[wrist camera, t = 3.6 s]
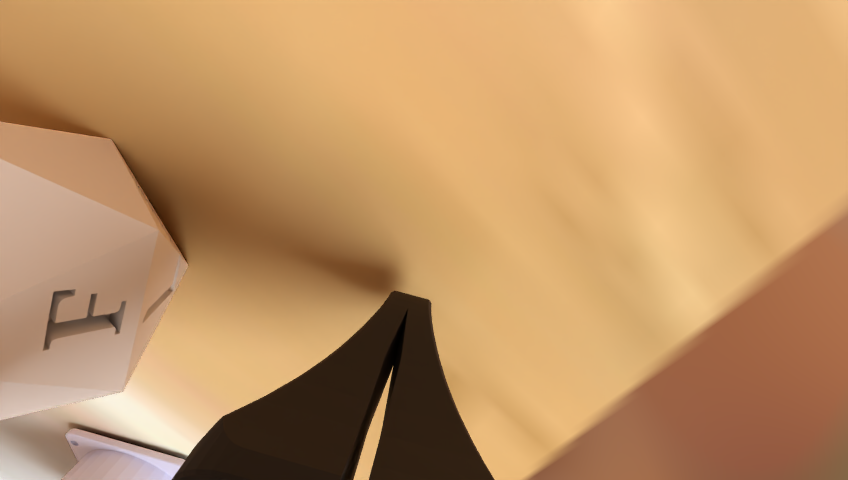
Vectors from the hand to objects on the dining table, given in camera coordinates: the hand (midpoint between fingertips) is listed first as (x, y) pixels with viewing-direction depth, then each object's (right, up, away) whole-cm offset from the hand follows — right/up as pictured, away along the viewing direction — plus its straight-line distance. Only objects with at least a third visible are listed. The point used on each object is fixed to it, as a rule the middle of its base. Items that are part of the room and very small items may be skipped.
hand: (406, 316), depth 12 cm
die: (-11, +4, +2) cm, 12 cm away
